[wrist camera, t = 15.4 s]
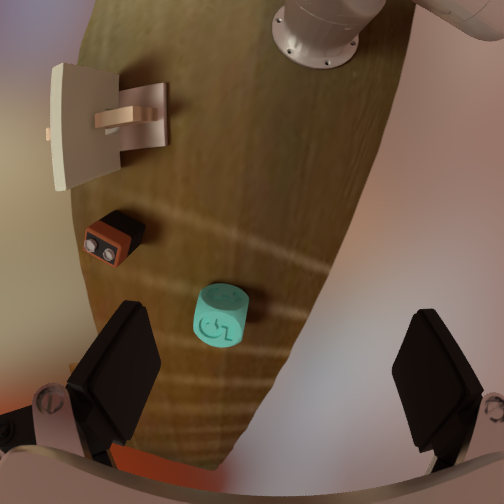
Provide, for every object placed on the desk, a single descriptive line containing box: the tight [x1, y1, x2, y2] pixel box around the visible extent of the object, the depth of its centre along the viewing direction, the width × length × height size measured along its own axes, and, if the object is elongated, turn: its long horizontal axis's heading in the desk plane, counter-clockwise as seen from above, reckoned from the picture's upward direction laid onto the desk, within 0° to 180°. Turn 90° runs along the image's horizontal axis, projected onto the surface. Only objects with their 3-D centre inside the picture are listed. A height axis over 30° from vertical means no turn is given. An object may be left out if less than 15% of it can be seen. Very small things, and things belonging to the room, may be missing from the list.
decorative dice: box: [193, 283, 249, 347], centre depth 47 cm, size 8×8×8 cm
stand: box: [46, 83, 168, 151], centre depth 34 cm, size 18×10×9 cm, turn 90°
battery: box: [83, 210, 145, 268], centre depth 41 cm, size 4×7×10 cm, turn 64°
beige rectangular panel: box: [50, 63, 121, 191], centre depth 30 cm, size 2×16×14 cm, turn 179°
